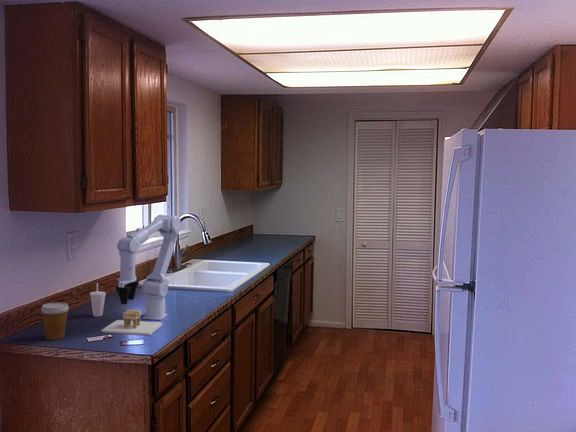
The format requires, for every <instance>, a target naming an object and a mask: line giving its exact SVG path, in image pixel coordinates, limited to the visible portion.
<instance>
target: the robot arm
mask: <svg viewBox="0 0 576 432" xmlns="http://www.w3.org/2000/svg"><path fill="white" fill-rule="evenodd" d="M181 221H182V220H181V219H180V217H179V216H178V215H164V214H157V216H154V218H153V221H151V222H150V223H149V224H147V225H146V226H145V227H144V228H142V227H138V228H136V229H135V231H133V232H132V233H130V234H128V235H127V236H123V237H121V238H120V239H118V243H117V244H116V248H117V250H118V252H119V253H118V255H119V256H120V258H119V262H120V263H119V266H120V267H119V271H120V272H119V277H118V278H117V279H116V281H119V282H118V283H117V284H118V285H116V286H115V291H116V292H117V293H118V296H119V301H120V305H127V304H128V300H129V301H133V300H134V299H135V297H136V296H135V295H136V291H137V288H138V286H139V284H140V281H139V280H137V275H136V253H137V252H138V250H139V249H140V247H141V245H143V244H144V243H145V242H147V241H148V240H149V238H150V235H153V234H154V233H155V232H157V231H158V232H159V234H160V235H161V236H162V237H163V240H162V243H161V245H160V246H161V247H160V249H159V253H158V256H157V259H156V261H155V265H154V268H153V271H152V272H151V273H150V274H148V275H147V276H146V279H145V280H144V281H143V283H142V284H141V285H142V286H141V291H142V293H143V294H144V297H145V315H144V316H143V317H142V320H154V321H155V320H156V321H161V320H163V319H164V318H165V317H166V316H168V312H167V313H166V298H165V297H166V295H167V294H168V291H169V283H170V280H169V279H168V278H167V277H166V274H167V273H168V268H169V266H170V261H171V259H172V256H173V253H174V249H175V246H176V244H177V240H178V236H179V234H180V231H181V228H182V222H181Z"/></svg>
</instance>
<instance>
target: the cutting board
mask: <svg viewBox="0 0 576 432" xmlns="http://www.w3.org/2000/svg"><path fill="white" fill-rule="evenodd" d="M161 326H163V322H158V321H157V322H156V321H155V322H154V321H142V320H140V325H139V326H137V328H133V320H131V325H128V327H127V328H124V319H116V320H115V321H113V322H112V323H110V324H108V325H107V326H105V327H104V328H103V329H101V333H108V334H122V335H123V334H125V335H126V334H127V335H140V336H151V335H152V334H153V333H154V332H156V331H157V330H158V329H159V328H160V327H161Z"/></svg>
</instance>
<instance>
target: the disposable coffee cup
mask: <svg viewBox="0 0 576 432" xmlns="http://www.w3.org/2000/svg"><path fill="white" fill-rule="evenodd" d="M69 310H70V307H69V305H68V303H66V302H49V303H44V304H43V305H41V308H40V311H41V313H42V320H43V328H44V335H45V339H46V340H50V341H53V340H55V341H56V340H62V339H63V338H65V333H66V324H67V318H68V311H69Z"/></svg>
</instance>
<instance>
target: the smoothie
mask: <svg viewBox="0 0 576 432" xmlns="http://www.w3.org/2000/svg"><path fill="white" fill-rule="evenodd" d="M89 296H90V300H91V309H92V310H91V311H92V316H93V317H95V318H96V317H98V318H99V317H102V316H103V314H104V306H105V299H106V296H107V292H105V291H99V282H96V291H91V292H89Z"/></svg>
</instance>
